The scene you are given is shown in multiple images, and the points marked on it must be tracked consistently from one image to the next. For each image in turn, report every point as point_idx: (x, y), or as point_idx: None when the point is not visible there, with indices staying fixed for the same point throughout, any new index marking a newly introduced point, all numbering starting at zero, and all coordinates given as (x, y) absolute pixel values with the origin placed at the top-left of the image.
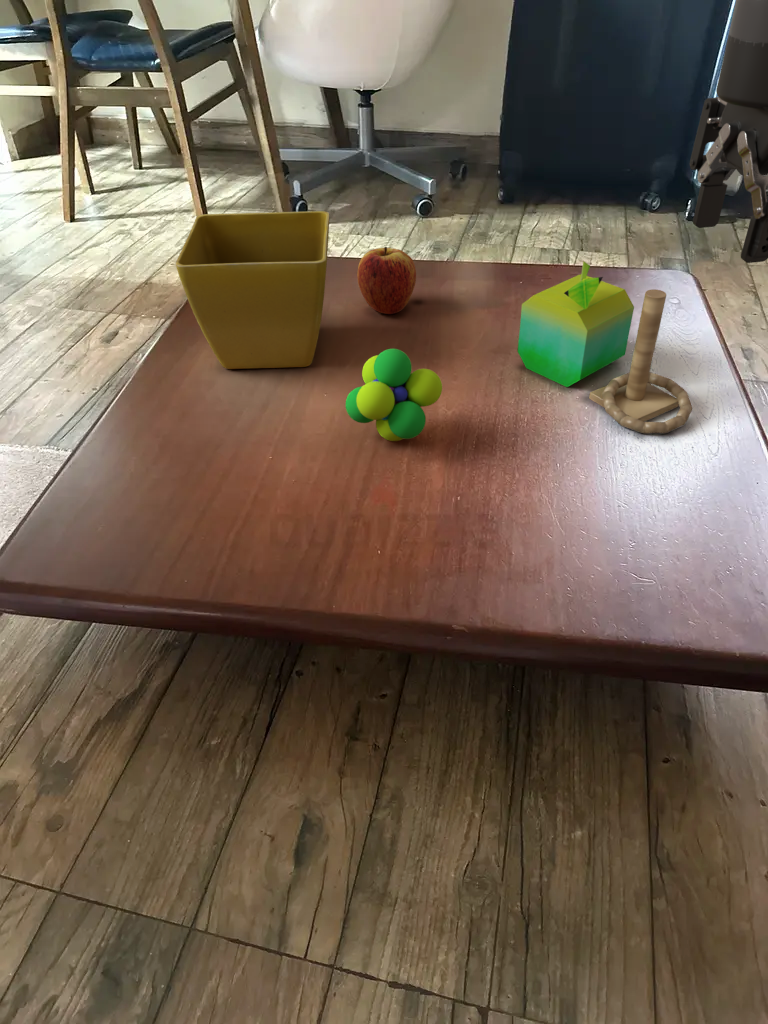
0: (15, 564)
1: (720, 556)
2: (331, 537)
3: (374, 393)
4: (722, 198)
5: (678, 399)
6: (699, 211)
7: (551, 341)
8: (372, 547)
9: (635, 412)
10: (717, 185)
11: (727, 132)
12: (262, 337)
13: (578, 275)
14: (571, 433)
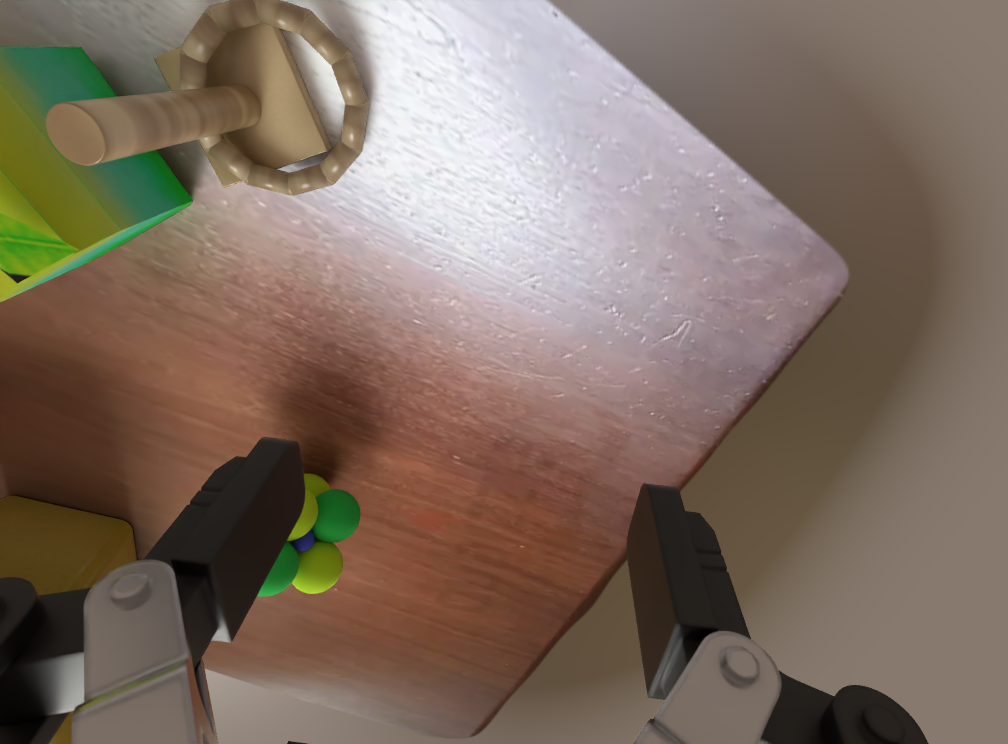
0: (450, 736)
1: (689, 207)
2: (485, 573)
3: (324, 587)
4: (245, 520)
5: (275, 26)
6: (280, 551)
7: (100, 249)
8: (513, 549)
9: (303, 138)
10: (211, 595)
11: None
12: None
13: None
14: (337, 265)
